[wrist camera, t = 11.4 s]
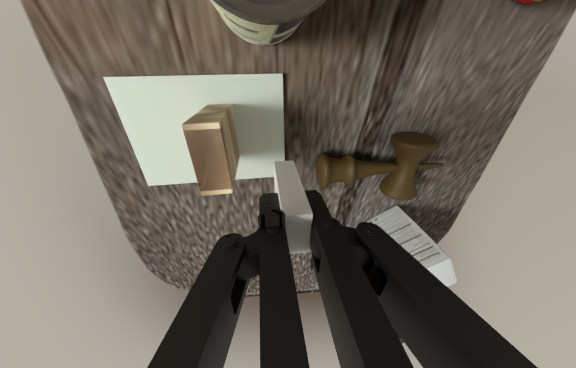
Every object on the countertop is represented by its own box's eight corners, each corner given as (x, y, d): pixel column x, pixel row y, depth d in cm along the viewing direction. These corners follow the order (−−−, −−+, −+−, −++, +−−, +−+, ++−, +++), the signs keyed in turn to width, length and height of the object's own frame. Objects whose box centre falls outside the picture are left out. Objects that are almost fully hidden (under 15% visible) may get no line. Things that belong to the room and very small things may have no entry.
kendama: (315, 133, 30) (441, 128, 32) (311, 187, 35) (420, 181, 37) (325, 148, 25) (475, 141, 27) (319, 209, 30) (445, 201, 32)
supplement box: (406, 227, 42) (459, 283, 31) (373, 243, 43) (413, 303, 32) (397, 203, 38) (453, 257, 28) (362, 222, 40) (401, 281, 29)
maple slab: (232, 103, 26) (219, 122, 17) (240, 155, 29) (232, 193, 20) (207, 104, 25) (181, 124, 17) (218, 157, 29) (201, 195, 20)
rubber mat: (282, 73, 25) (282, 73, 25) (284, 174, 32) (285, 175, 32) (106, 76, 23) (103, 77, 23) (150, 184, 30) (148, 185, 30)
